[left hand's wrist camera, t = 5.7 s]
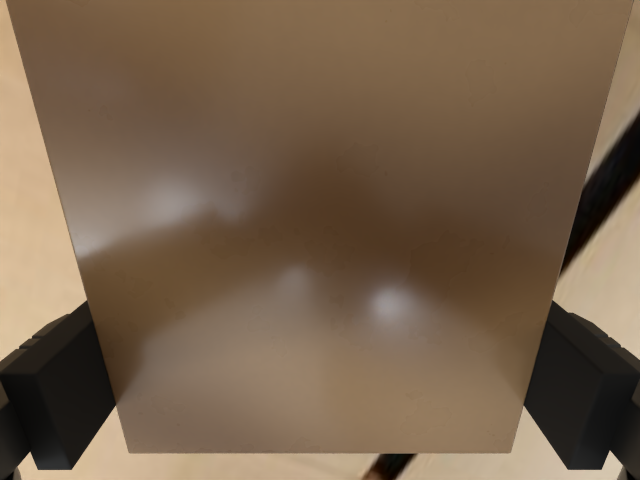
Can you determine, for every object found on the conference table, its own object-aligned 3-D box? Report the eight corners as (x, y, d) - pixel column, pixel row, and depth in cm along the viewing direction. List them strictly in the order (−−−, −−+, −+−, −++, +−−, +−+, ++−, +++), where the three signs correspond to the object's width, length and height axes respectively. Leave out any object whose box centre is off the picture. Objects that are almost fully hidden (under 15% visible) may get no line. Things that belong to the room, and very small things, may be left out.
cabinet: (184, -94, 14) (-168, -627, 4) (454, -94, 14) (807, -626, 4) (225, 280, 20) (128, 454, 10) (414, 280, 20) (511, 454, 10)
